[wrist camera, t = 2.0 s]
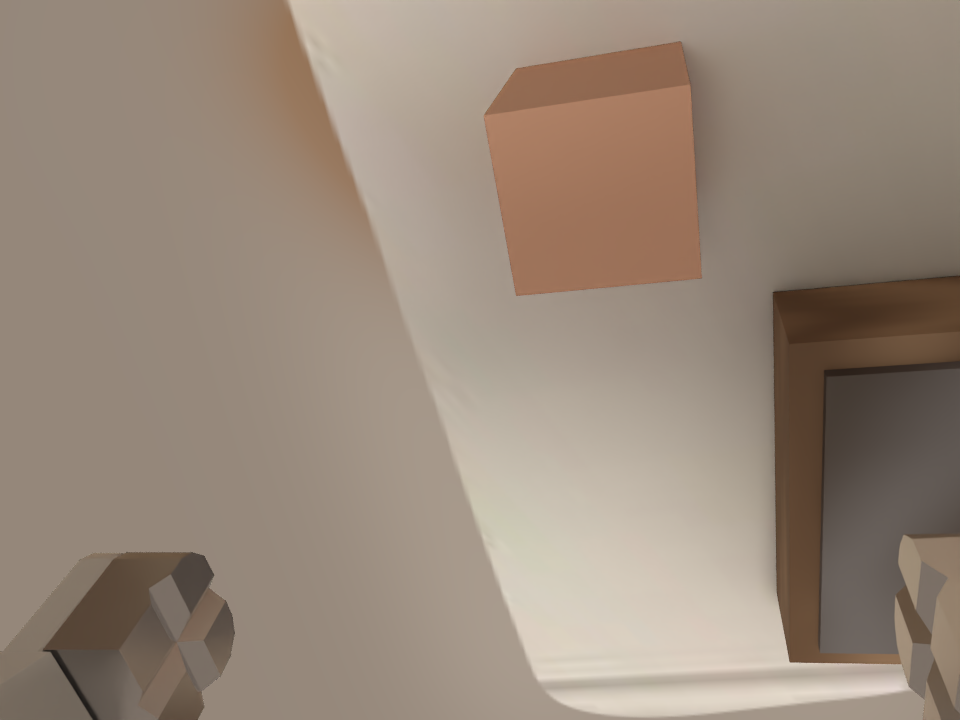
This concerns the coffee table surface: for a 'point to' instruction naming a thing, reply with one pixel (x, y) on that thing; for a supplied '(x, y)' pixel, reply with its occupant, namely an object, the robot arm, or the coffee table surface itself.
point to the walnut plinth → (861, 455)
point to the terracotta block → (597, 171)
